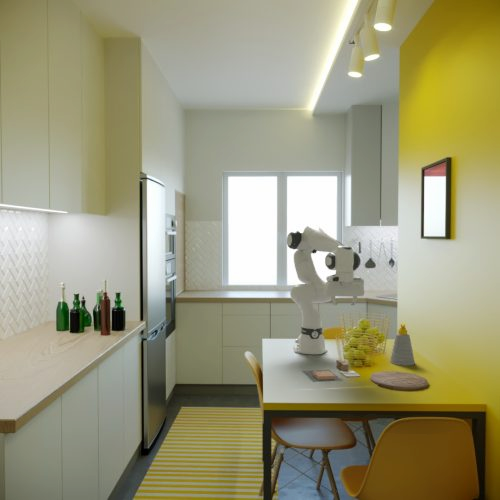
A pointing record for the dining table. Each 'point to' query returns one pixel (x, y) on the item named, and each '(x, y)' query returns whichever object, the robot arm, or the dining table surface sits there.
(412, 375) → the trivet
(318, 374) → the tile
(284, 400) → the dining table surface
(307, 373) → the mat
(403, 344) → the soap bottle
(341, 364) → the turner
